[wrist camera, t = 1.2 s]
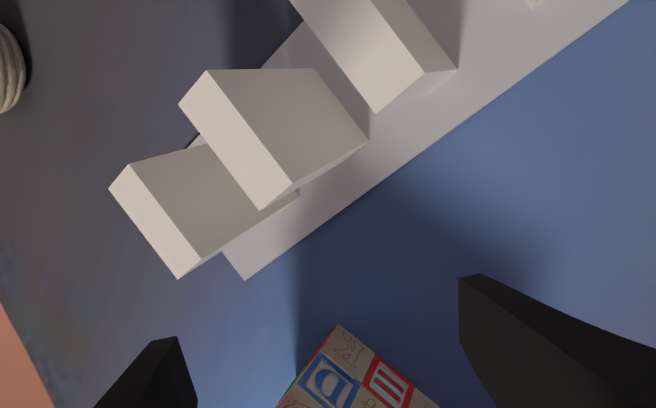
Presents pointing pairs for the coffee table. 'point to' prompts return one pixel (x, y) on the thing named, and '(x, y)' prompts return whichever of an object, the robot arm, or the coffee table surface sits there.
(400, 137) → the felt strip
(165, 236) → the domino
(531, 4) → the domino
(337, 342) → the stack of blocks
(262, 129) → the domino
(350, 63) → the domino
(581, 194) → the coffee table surface
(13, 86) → the carving
